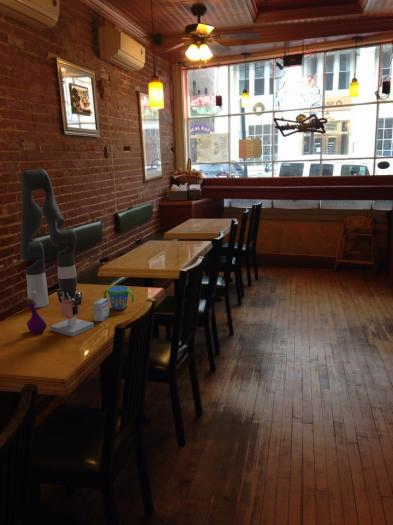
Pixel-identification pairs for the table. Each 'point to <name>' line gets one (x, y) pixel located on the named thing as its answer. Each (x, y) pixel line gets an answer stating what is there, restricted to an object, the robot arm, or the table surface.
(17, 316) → the table surface
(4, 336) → the table surface
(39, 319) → the perfume bottle
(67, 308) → the knob
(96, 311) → the medicine box
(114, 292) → the snack cup
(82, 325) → the panel
